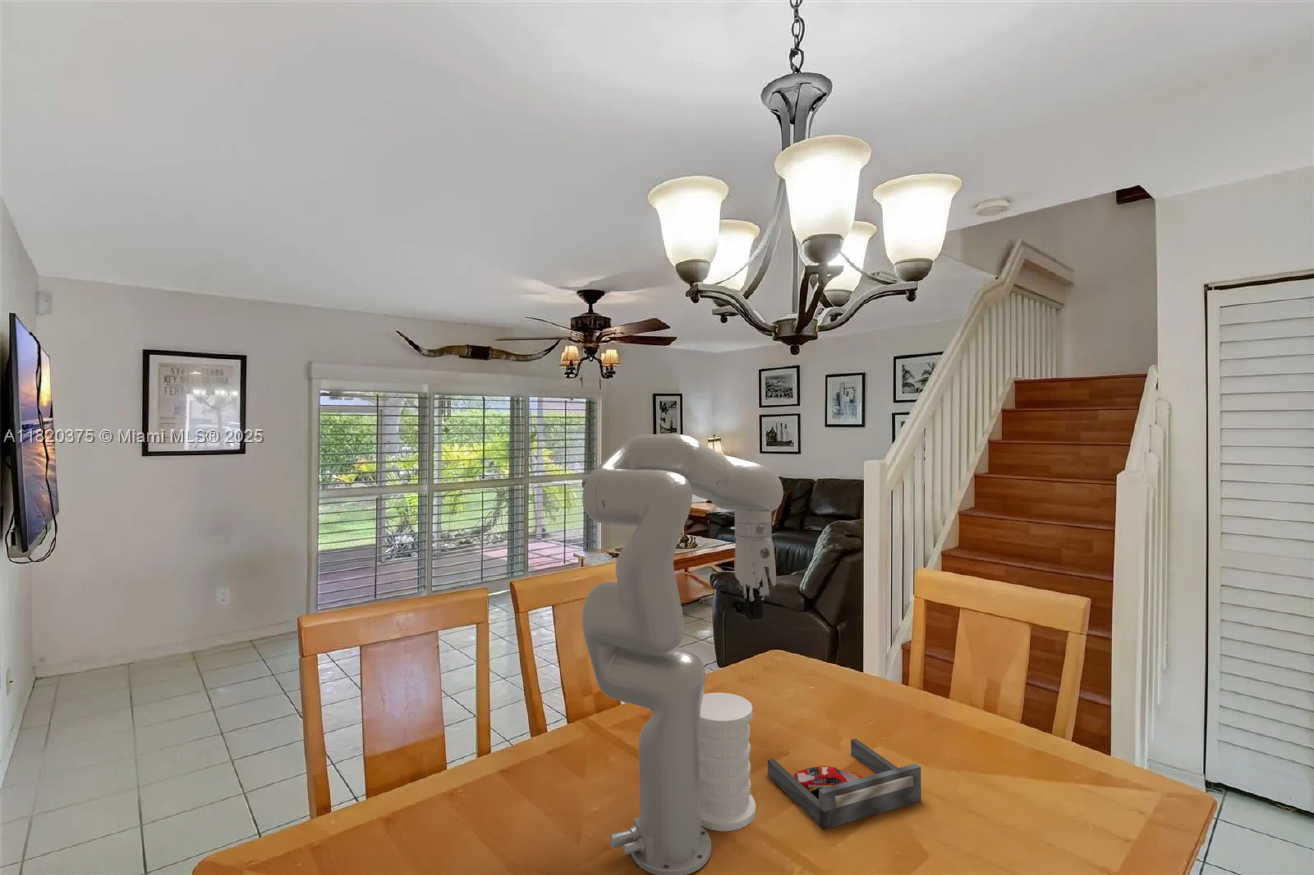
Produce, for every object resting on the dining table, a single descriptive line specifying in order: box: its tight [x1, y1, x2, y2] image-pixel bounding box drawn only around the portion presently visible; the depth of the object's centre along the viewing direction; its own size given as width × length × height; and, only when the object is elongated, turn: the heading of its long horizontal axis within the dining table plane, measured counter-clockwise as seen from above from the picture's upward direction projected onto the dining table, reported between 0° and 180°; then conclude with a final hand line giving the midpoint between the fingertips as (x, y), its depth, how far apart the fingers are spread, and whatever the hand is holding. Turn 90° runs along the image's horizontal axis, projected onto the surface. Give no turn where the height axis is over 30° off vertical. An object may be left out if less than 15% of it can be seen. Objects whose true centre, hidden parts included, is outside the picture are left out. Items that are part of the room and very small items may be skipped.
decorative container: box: [700, 692, 757, 832], centre depth 107 cm, size 12×12×18 cm
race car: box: [793, 765, 864, 800], centre depth 112 cm, size 13×5×4 cm, turn 90°
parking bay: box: [767, 738, 922, 830], centre depth 113 cm, size 20×18×6 cm
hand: (753, 618), depth 130 cm, fingers closed
